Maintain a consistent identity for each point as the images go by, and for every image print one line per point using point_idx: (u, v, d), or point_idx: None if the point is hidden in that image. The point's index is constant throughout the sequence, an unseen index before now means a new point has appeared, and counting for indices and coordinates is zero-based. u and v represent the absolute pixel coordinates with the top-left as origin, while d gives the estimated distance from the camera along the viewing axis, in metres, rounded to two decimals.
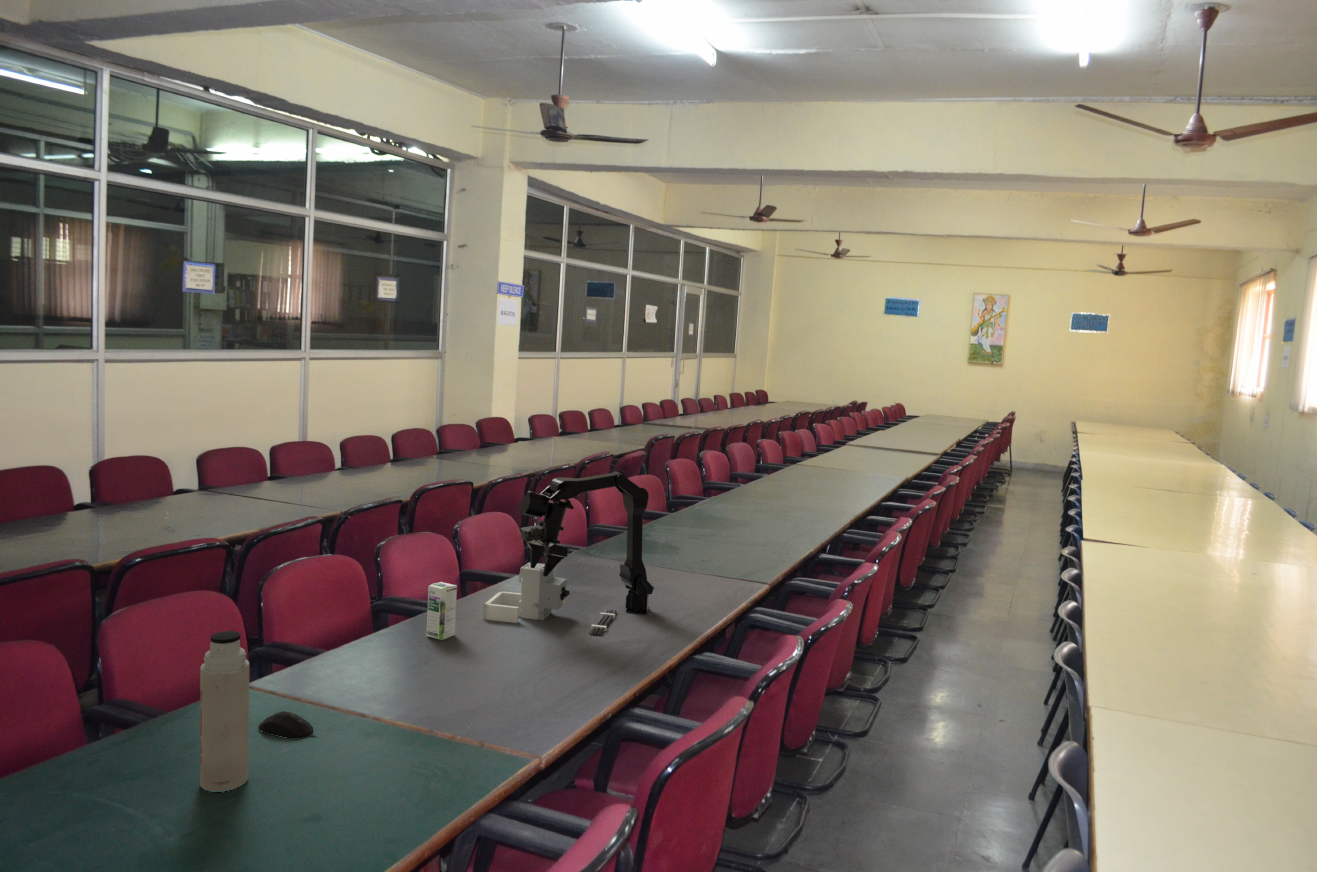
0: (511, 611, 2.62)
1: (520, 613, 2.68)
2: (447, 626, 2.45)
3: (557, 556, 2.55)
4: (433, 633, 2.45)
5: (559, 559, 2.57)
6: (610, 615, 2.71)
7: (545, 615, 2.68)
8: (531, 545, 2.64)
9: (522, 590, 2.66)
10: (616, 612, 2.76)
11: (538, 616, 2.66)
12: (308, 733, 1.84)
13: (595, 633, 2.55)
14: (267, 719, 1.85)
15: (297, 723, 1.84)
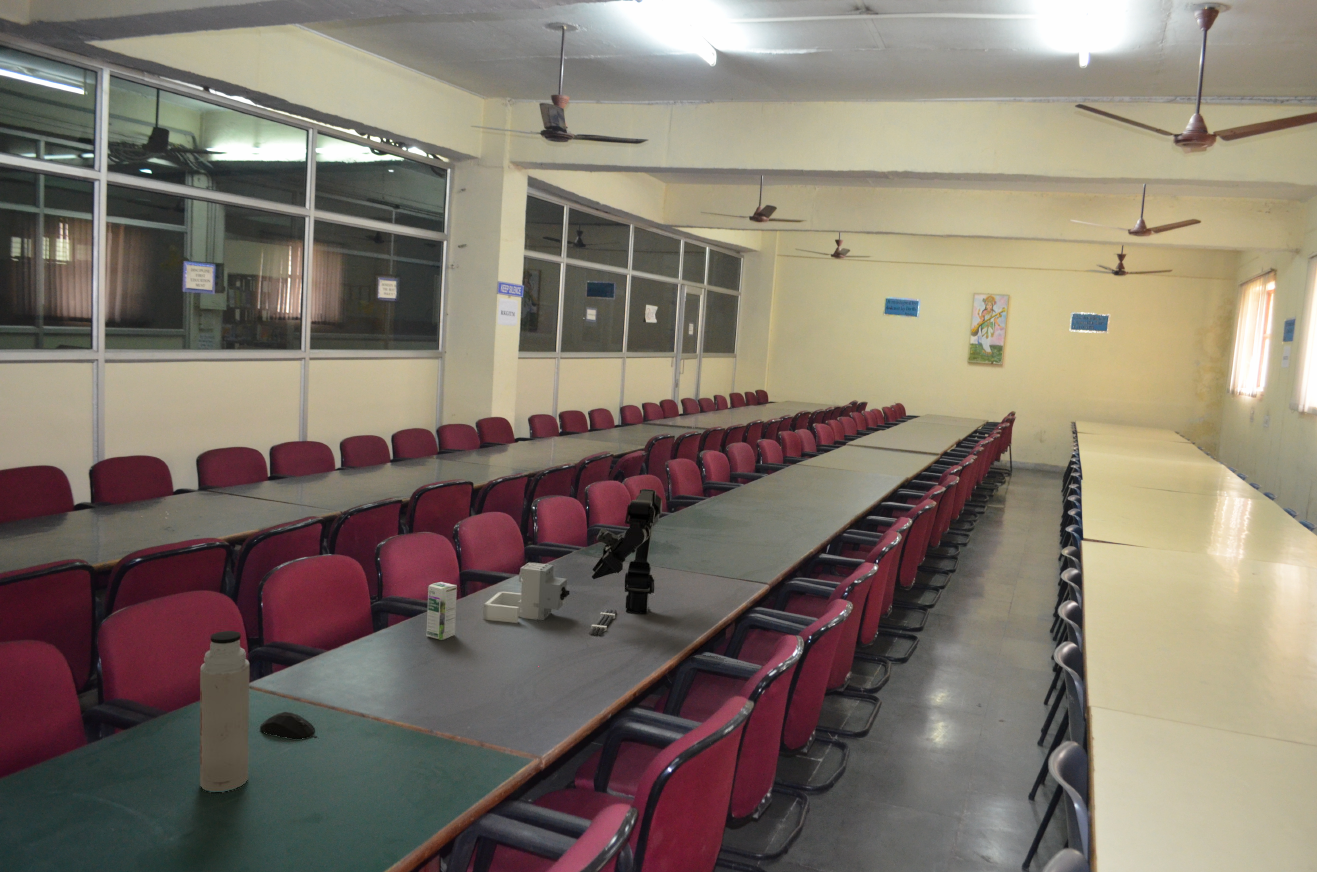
0: (511, 611, 2.62)
1: (520, 613, 2.68)
2: (447, 626, 2.45)
3: (610, 566, 2.62)
4: (433, 633, 2.45)
5: (611, 571, 2.63)
6: (610, 615, 2.71)
7: (545, 615, 2.68)
8: (604, 551, 2.73)
9: (522, 590, 2.66)
10: (616, 612, 2.76)
11: (538, 616, 2.66)
12: (310, 734, 1.84)
13: (595, 633, 2.55)
14: (269, 720, 1.85)
15: (299, 724, 1.84)
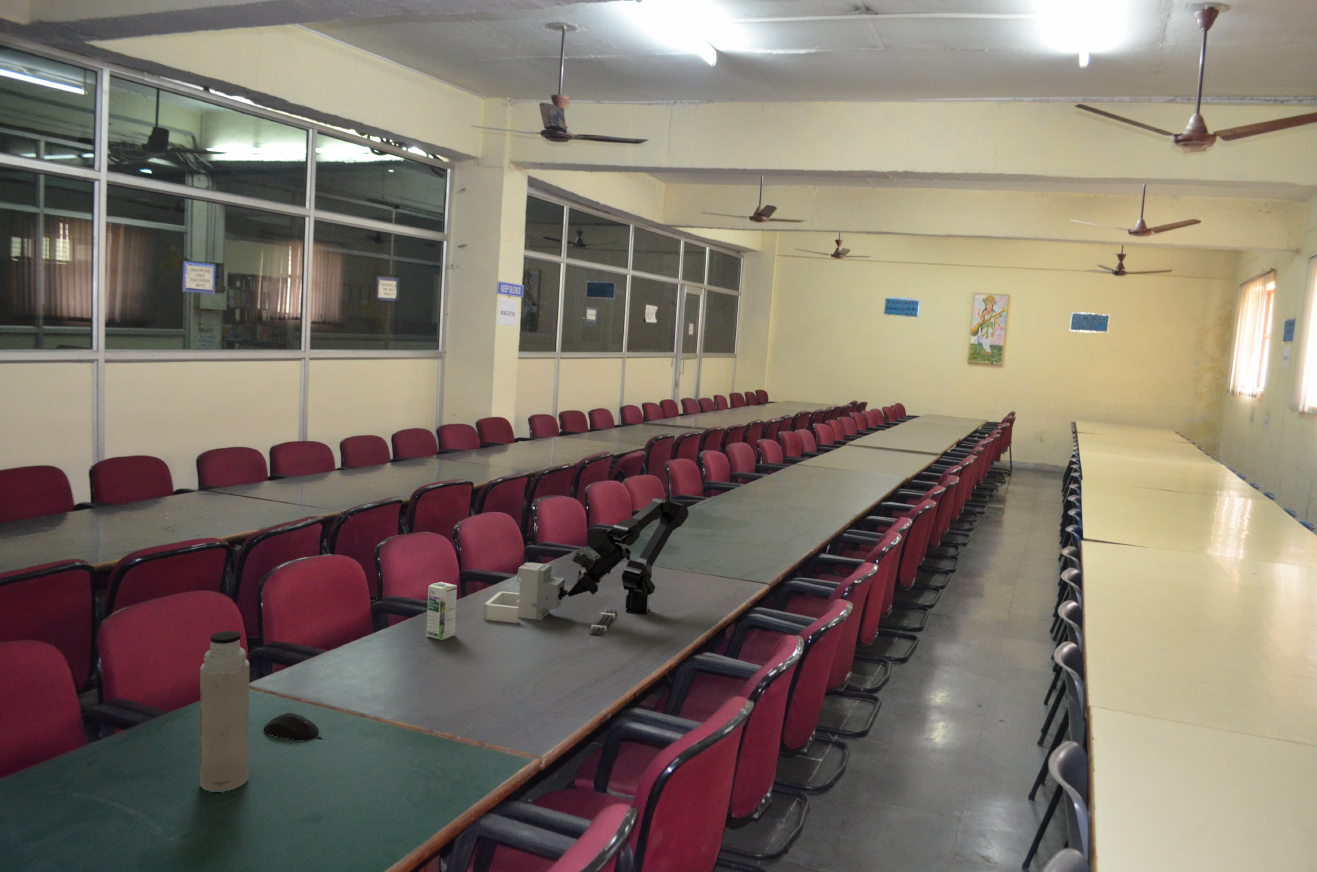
0: (511, 611, 2.62)
1: (518, 613, 2.68)
2: (447, 626, 2.45)
3: None
4: (433, 633, 2.45)
5: (587, 589, 2.67)
6: (610, 615, 2.71)
7: (543, 615, 2.68)
8: (579, 575, 2.70)
9: (520, 590, 2.66)
10: (616, 612, 2.76)
11: (537, 616, 2.66)
12: (314, 734, 1.83)
13: (595, 633, 2.55)
14: (272, 721, 1.84)
15: (302, 725, 1.83)
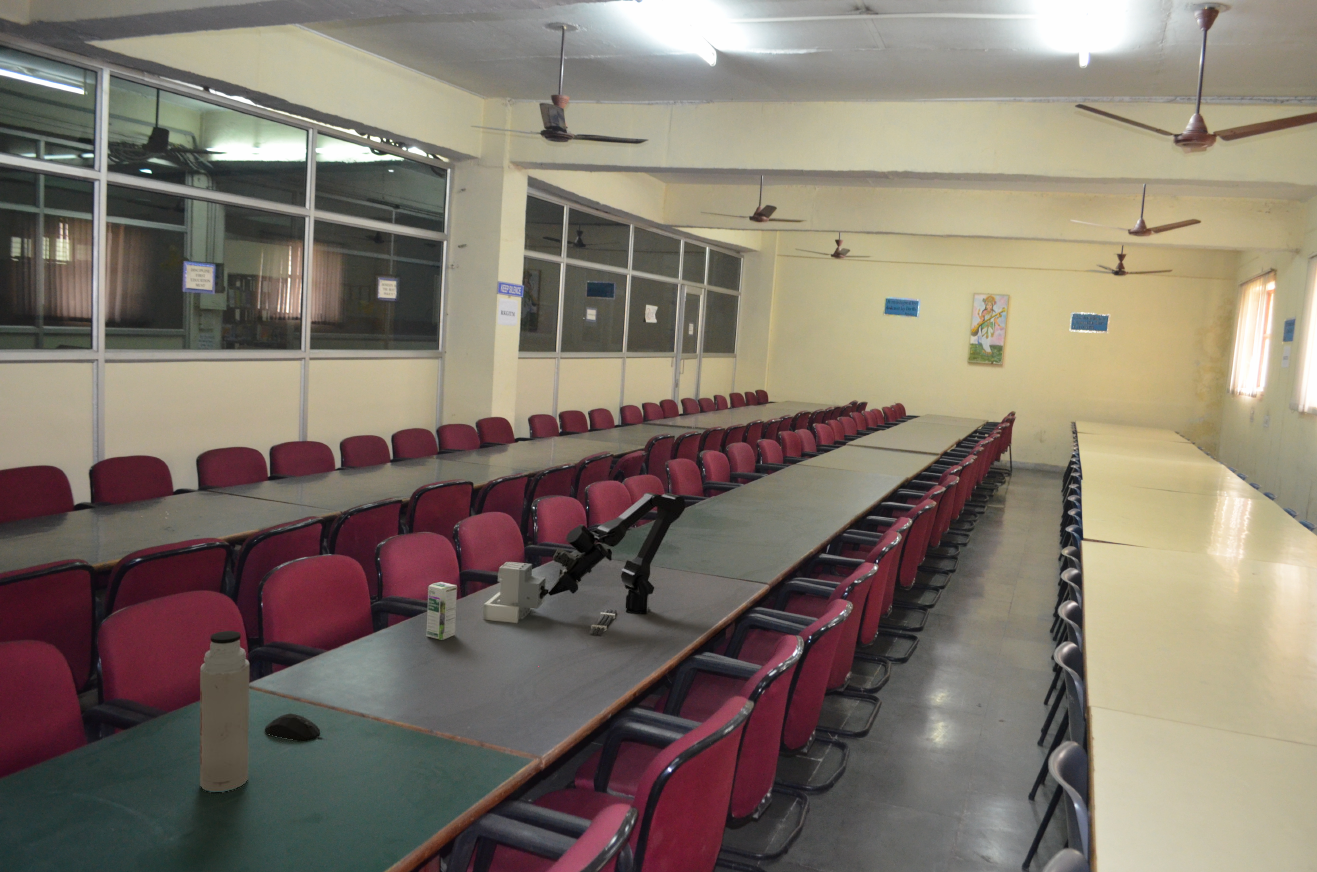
0: (511, 611, 2.62)
1: None
2: (447, 626, 2.45)
3: None
4: (433, 633, 2.45)
5: (568, 588, 2.67)
6: (610, 615, 2.71)
7: (524, 614, 2.67)
8: (560, 574, 2.69)
9: (501, 589, 2.66)
10: (616, 612, 2.76)
11: (518, 616, 2.66)
12: (315, 735, 1.83)
13: (595, 633, 2.55)
14: (273, 722, 1.84)
15: (304, 726, 1.83)
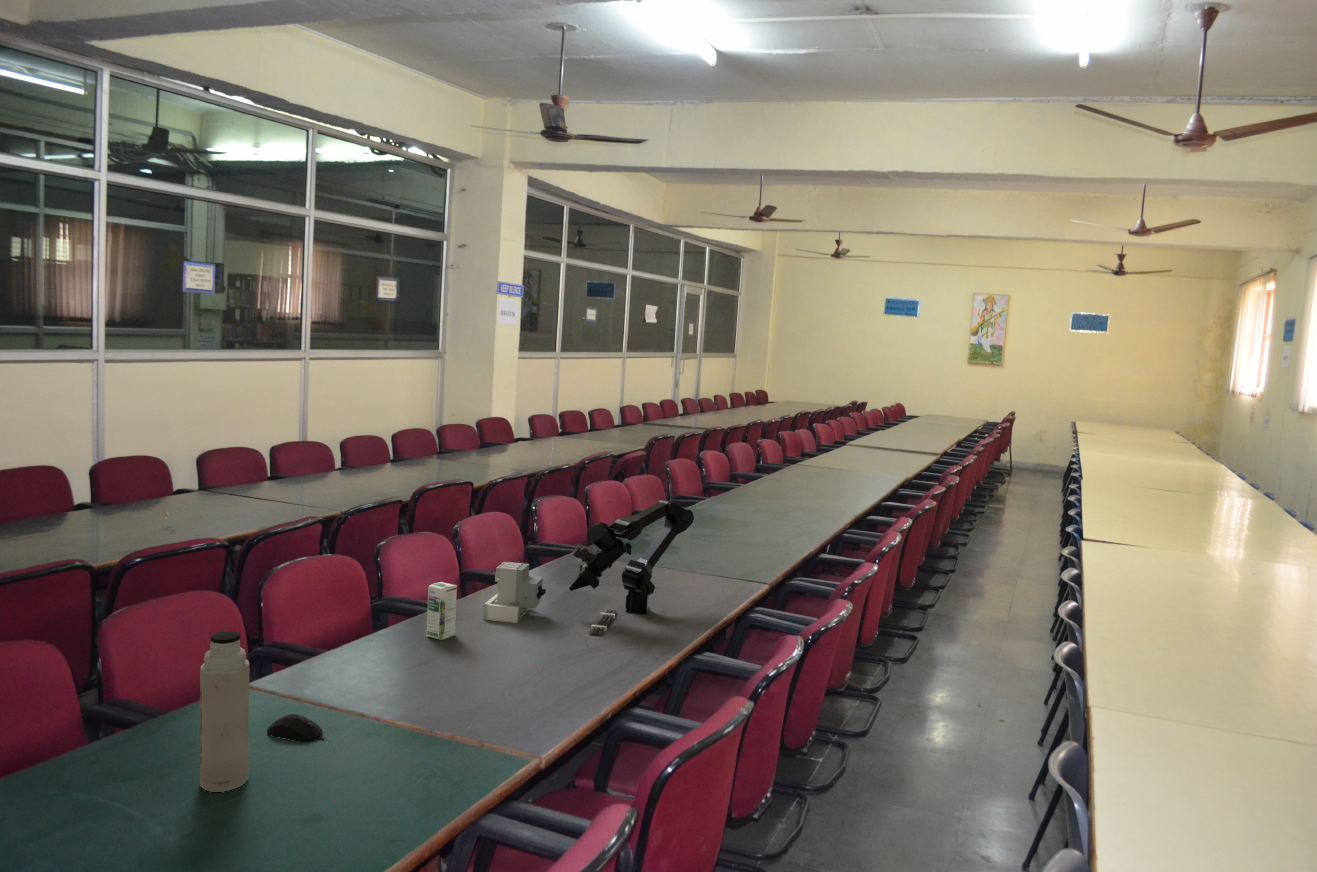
0: (511, 611, 2.62)
1: None
2: (447, 626, 2.45)
3: None
4: (433, 633, 2.45)
5: (588, 583, 2.69)
6: (610, 615, 2.71)
7: (522, 614, 2.67)
8: (581, 569, 2.71)
9: (498, 590, 2.66)
10: (616, 612, 2.76)
11: None
12: (318, 736, 1.83)
13: (595, 633, 2.55)
14: (276, 722, 1.84)
15: (306, 726, 1.83)
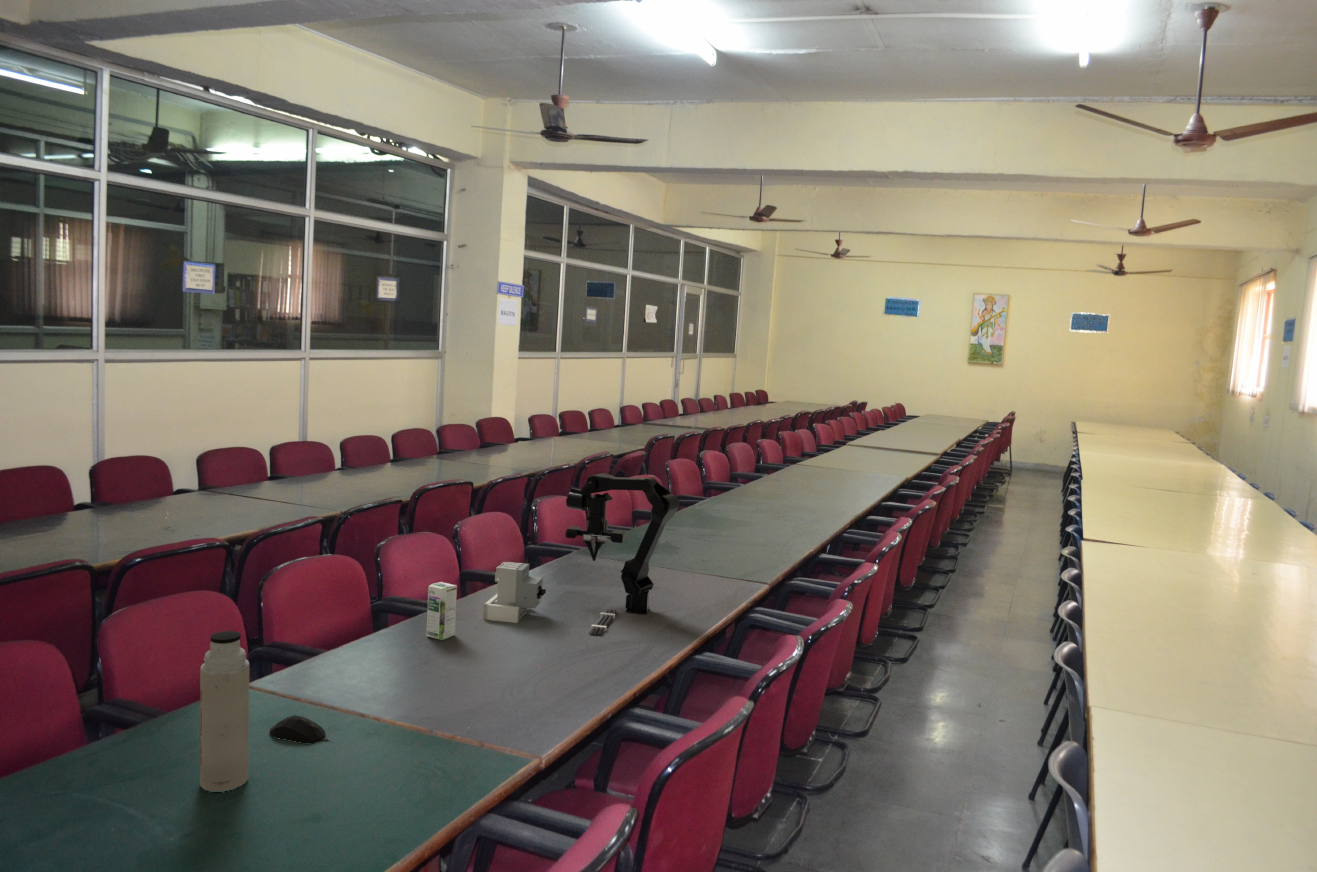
0: (511, 611, 2.62)
1: None
2: (447, 626, 2.45)
3: None
4: (433, 633, 2.45)
5: None
6: (610, 615, 2.71)
7: (522, 614, 2.67)
8: None
9: (498, 590, 2.66)
10: (616, 612, 2.76)
11: None
12: (321, 737, 1.82)
13: (595, 633, 2.55)
14: (278, 724, 1.83)
15: (309, 727, 1.82)
